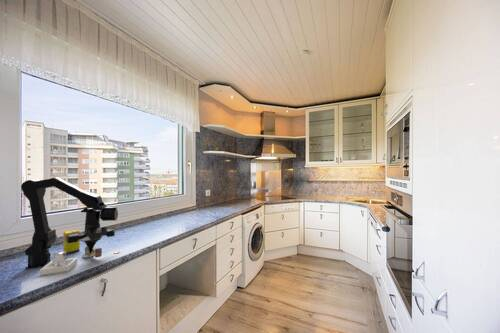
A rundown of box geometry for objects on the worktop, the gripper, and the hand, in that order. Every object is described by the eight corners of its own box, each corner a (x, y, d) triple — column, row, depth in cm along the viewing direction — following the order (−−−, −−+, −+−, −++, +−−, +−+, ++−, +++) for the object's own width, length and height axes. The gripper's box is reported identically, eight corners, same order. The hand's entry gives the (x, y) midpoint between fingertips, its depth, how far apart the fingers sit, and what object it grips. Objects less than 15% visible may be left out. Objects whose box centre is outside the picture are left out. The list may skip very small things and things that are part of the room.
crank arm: (83, 253, 108) (83, 245, 108) (90, 252, 111) (90, 243, 111) (96, 259, 101) (96, 250, 101) (103, 257, 104) (103, 248, 104)
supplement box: (76, 248, 120) (77, 229, 120) (79, 251, 116) (79, 230, 116) (62, 251, 115) (63, 231, 116) (65, 254, 111) (65, 233, 112)
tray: (39, 276, 88) (39, 269, 88) (51, 266, 97) (51, 261, 97) (68, 271, 91) (68, 265, 91) (77, 263, 100) (77, 257, 100)
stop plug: (51, 270, 91) (52, 255, 92) (56, 266, 95) (56, 252, 95) (63, 269, 93) (63, 254, 93) (67, 265, 97) (67, 250, 97)
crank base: (80, 258, 105) (80, 256, 105) (84, 255, 110) (84, 253, 110) (118, 253, 111) (118, 252, 111) (119, 250, 116) (119, 248, 116)
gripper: (72, 226, 93) (69, 263, 92) (119, 221, 107) (117, 252, 106) (66, 222, 100) (63, 256, 99) (111, 218, 114) (109, 247, 113)
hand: (90, 253), depth 104 cm, fingers closed
